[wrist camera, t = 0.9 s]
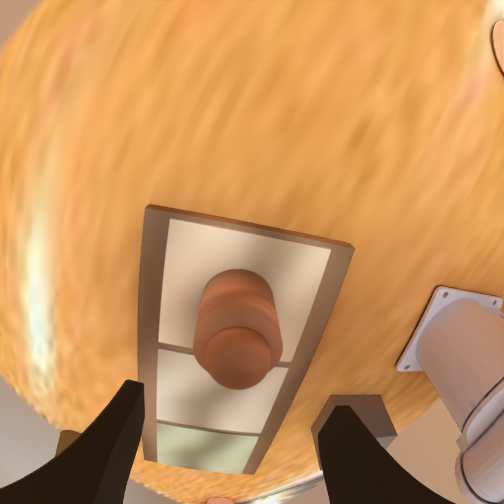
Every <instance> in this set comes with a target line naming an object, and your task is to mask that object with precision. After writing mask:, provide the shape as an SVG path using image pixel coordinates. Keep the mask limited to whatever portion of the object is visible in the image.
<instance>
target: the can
mask: <svg viewBox="0 0 504 504" xmlns="http://www.w3.org/2000/svg"><path fill="white" fill-rule="evenodd" d="M492 43H493V49H494V53H495V56H496V59H497V62H498V64H499V66H500V69H501V70H502V72H503V74H504V19H503V20H500V21H498V22H497V23H496V24H495V26H494V30H493V34H492Z"/></svg>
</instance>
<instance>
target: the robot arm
mask: <svg viewBox="0 0 504 504" xmlns="http://www.w3.org/2000/svg"><path fill="white" fill-rule="evenodd" d="M444 293H445V294H444ZM502 303H503V299H502V298H500V297H496V296H491V295H486V294H480V293H475V292H470V291H465V290H459V289H454V288H449V287H444V286H439V287H438V288H436V290H435V291H434V294H433V296H432V298H431V300H430V302H429V304H428V306H427V309H426V311H425V313H424V315H423V317H422V319H421V321H420V323H419V325H418V327H417V329H416V330H415V332H414V334H413V336H412V338H411V340H410V342H409V344H408V345H407V347H406V349H405V351H404V353H403V354H402V356H401V358H400V359H399V361H398V363H397V365H396V369H397V370H398V371H424V372H425V374H426V375H427V377H428V378H429V380H430V382H431V383H432V385H433V386H434V388H435V389H436V391H437V393H438V394H439V396H440V398H441V399H442V401H443V402H444V404H445V406H446V407H447V409H448V410H449V412H450V414H451V416H452V417H453V419H454V421H455V422H456V424H457V426H458V427H459V429H460V431H461V433H462V434H461V436H460V437H459V438H458V439H457V441H456V443H457V444H458V446H459V448H460V450H461V451H460V453H459V454H458V456H457V458H456V462H455V476H456V480H457V484H458V487H459V489H460V491H461V493H462V494H463V496H464V497H465V498H466V499H467V500H468V501H469V502H470V503H472V504H504V314H503V313H502V312H501V311H500V308H501V306H502ZM144 419H145V398H144V383H141V382H137V381H132V380H126V381H125V382H124V383H123V385H122V386H121V388H120V389H119V391H118V392H117V393H116V395H115V396H114V397H113V399H112V400H111V401H110V402H109V404H108V405H107V406H106V407H105V409H104V410H103V411H102V412H101V413H100V414H99V416H98V417H97V418H96V419H95V420H94V421H93V422H92V424H91V425H90V426H89V427H88V428H87V429H86V430H85V431H84V432H83V433H82V434H81V435H80V436H79V437H78V438H77V439H76V440H75V441H74V442H72V443H71V444H70V445H69V446H68V447H67V448H66V449H64V450H63V451H62V452H61V453H60V454H58V455H57V456H56V457H54V458H53V459H52V460H50V461H49V462H48V463H46V464H45V465H43V466H42V467H40V468H39V469H37V470H35V471H34V472H33V473H31V474H29V475H27V476H25V477H24V478H22V479H20V480H18V481H16V482H14V483H12V484H9V485H7V486H5V487H3V488H0V504H123V499H124V493H125V489H126V485H127V481H128V478H129V475H130V471H131V468H132V465H133V462H134V459H135V455H136V452H137V449H138V446H139V443H140V439H141V435H142V430H143V424H144ZM318 448H319V457H320V461H321V466H322V470H323V474H324V479H325V483H326V487H327V491H328V495H329V500H330V504H455V503H453V502H451V501H449V500H447V499H445V498H443V497H441V496H440V495H438V494H436V493H435V492H433V491H432V490H430V489H429V488H427V487H426V486H424V485H423V484H422V483H420V482H419V481H417V480H416V479H415V478H414V477H413V476H412V475H410V474H409V473H408V472H407V471H406V470H405V469H403V468H402V467H401V466H400V465H399V464H398V463H397V462H396V461H395V460H394V458H393V457H392V456H391V455H390V454H389V453H388V452H387V451H386V450H385V449H384V448H383V446H382V445H381V444H380V443H379V442H378V441H377V439H376V438H375V437H374V436H373V434H372V433H371V432H370V431H369V429H368V428H367V427H366V426H365V424H364V423H363V422H362V421H361V419H360V418H359V417H358V415H357V414H356V413H355V412H354V410H353V409H352V408H351V407H350V405H336V406H335V408H334V409H333V411H332V413H331V414H330V416H329V417H328V419H327V421H326V422H325V424H324V425H323V427H322V428H321V430H320V431H319V433H318Z"/></svg>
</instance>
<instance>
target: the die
mask: <svg viewBox="0 0 504 504" xmlns="http://www.w3.org/2000/svg"><path fill="white" fill-rule="evenodd" d="M336 405H350V407H351V408H352V409H353V410H354V412H355V413H356V414H357V415H358V417H359V418H360V419H361V421H362V422H363V423H364V424H365V426H366V427H367V428H368V429H369V431H370V432H371V433H372V434H373V436H374V437H375V438H376V439H377V441H378V442H379V443H380V444H381V445H382V446H383V448H384V449H386V448H387V447H388V446H389V445H390V444H391V442H392V441H393V440H394V439H395V438H396V437H397V433H396V430H395V428H394V426H393V424H392V421H391V419H390V417H389V415H388V412H387V410H386V408H385V406H384V404H383V401H382V399H381V397H380V395H330V397H329V399H328V401H327V402H326V404H325V406H324V408H323V409H322V411H321V413H320V414H319V416H318V418H317V419H316V421H315V423H314V424H313V426H312V427H311V431H312V435H313V440H314V444H315V449H316V453H317V458H318V462H319V467H320V470H322V466H321V461H320V457H319V448H318V433H319V431H320V430H321V428H322V427H323V425H324V424H325V422H326V421H327V419H328V417H329V416H330V414H331V413H332V411H333V409H334V408H335V406H336Z"/></svg>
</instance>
